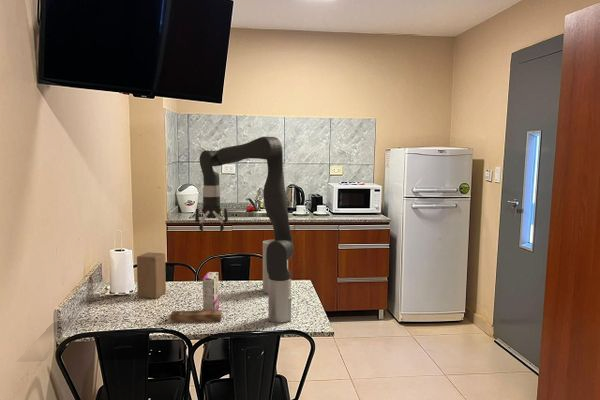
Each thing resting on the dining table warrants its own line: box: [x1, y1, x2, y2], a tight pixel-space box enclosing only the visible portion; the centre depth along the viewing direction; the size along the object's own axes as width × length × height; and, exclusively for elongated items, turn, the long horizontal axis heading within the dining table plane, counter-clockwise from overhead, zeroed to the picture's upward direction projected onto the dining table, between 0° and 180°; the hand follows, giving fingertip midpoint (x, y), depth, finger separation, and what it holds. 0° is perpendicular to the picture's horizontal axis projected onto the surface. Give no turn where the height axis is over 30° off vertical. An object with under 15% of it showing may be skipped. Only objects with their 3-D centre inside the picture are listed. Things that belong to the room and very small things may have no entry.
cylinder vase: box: [262, 239, 289, 295], centre depth 231 cm, size 12×12×25 cm
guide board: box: [169, 309, 223, 323], centre depth 191 cm, size 20×5×3 cm, turn 94°
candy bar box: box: [202, 271, 220, 311], centre depth 199 cm, size 11×5×16 cm, turn 0°
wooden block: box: [136, 251, 167, 300], centre depth 222 cm, size 10×10×20 cm
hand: (211, 231), depth 209 cm, fingers open, 8 cm apart
